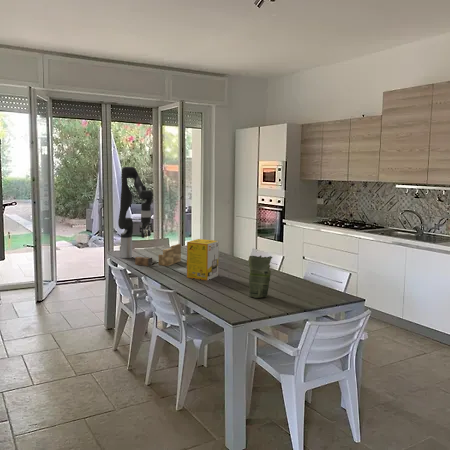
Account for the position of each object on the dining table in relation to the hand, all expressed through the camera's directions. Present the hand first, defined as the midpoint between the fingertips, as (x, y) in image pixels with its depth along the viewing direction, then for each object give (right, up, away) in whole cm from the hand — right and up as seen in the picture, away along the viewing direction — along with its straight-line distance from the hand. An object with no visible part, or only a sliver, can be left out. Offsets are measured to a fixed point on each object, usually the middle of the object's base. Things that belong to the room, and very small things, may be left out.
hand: (145, 237), depth 358 cm
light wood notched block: (+18, -21, +7) cm, 28 cm away
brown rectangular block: (-2, -22, 0) cm, 22 cm away
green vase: (+82, -34, -81) cm, 120 cm away
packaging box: (+46, -27, -35) cm, 64 cm away
